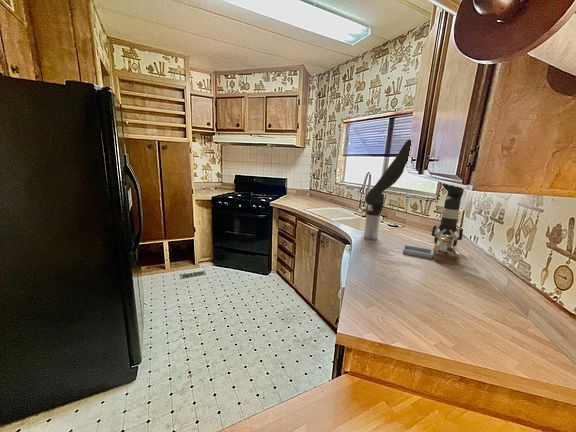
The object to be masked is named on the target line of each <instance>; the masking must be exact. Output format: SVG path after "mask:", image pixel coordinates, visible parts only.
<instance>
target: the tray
mask: <svg viewBox="0 0 576 432" xmlns="http://www.w3.org/2000/svg"><path fill="white" fill-rule="evenodd" d="M402 249H403V250H402V254H403V255H408V256H414V257H419V258H424V259H429V260H433V257H434V254H433V249H432V248H431V249H430V248H425V247H419V246H413V245H409V244H408V245H407V244H404V245H403V248H402Z"/></svg>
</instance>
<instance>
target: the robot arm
mask: <svg viewBox="0 0 576 432" xmlns="http://www.w3.org/2000/svg"><path fill="white" fill-rule="evenodd" d="M410 146H411V140H410V138H409V139H407V140H406V141H405V142H404V143H403V145H402V147H401V149H400V150H399V152H398V154H397V155H396V157H395V158H394V159H393V161H392V162H391V163H390V164H389V166H388V167H387V168H386V169H385V171H384V172H383V174H382V176H381V177H380V178H379V179H378V181H377V182H376V183H375V184H374V186H373V187H372V188H371V189H370V190H369V191H368V193H367V194H366V195H365V202H366V204H367V205H368V206H370V207H369V208H368V209H367V210H366V215H365V223H364V232H363V238H365V239H366V240H371V241H372V240H373V241H374V240H377V239H378V236H379V226H380V221H381V220H380V219H381V213H382V211H383V207H384V201H385V197H384V194H383V192H384V191H385V190H387V189H389V188H391V186H393V185H394V184H396V182H398V180H399V179H400V177H402V176H403V175H402V174H403V173H404V170H405V167H406V165H407V163H408V162H409V161H408V156H409V151H410ZM407 161H408V162H407ZM440 184H441V185H442V187H443V188H444V189H445V190H446V191H447V196H446V198H445V201H444V204H443V208H442V209H443V210H442V212H441V218H440V225H436V224H433V227H432V229H431V230H432V231H431V236H432V237H434V240H433V242H434V245H435V244H437V240H438V236H439V235H441V234H444V235H452V236H453V237H454V239H453V242H452V248H455V247H456V246H457V244H458V241H462V239H463V233H464V229H463V228H457V225H458V219H459V214H460V206H461V201H462V200H461V199H462V197H463V193H464V189H465V188H464V189H462V188H459V187H454V186H448V185H444V184H442V183H441V182H440ZM438 228H439V229H440V231H439V232H438V233H436V230H437V231H438ZM455 232H458V237H457V236H456V234H455Z"/></svg>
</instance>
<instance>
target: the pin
mask: <svg viewBox="0 0 576 432" xmlns="http://www.w3.org/2000/svg"><path fill="white" fill-rule="evenodd" d="M446 237H447V238H449V239H450V241H449V242H448V247H447V250H451V248H453V242H454V237H453V236H452V235H446Z"/></svg>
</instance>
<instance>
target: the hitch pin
mask: <svg viewBox="0 0 576 432" xmlns="http://www.w3.org/2000/svg"><path fill="white" fill-rule="evenodd" d="M441 240H442V242H441V247H440V253H444V254H446V252H447V247H448V242H449V241H450V239H449V238H441Z"/></svg>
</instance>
